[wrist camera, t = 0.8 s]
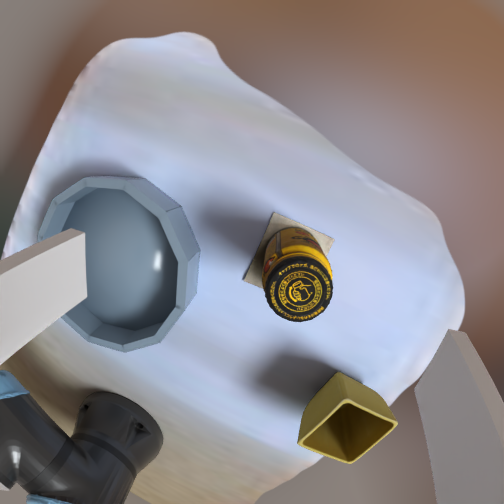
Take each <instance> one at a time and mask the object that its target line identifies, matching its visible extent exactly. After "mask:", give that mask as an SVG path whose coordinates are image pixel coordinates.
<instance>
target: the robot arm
mask: <svg viewBox="0 0 504 504" xmlns="http://www.w3.org/2000/svg"><path fill="white" fill-rule="evenodd" d="M85 298H87V283H86V258H85V232H82V231H79V230H75V229H72V228H70V229H68V230H65V231H63V232H61V233H59V234H56V235H54V236H52V237H50V238H47V239H45V240H43V241H41V242H38V243H36V244H34V245H32V246H30V247H28V248H26V249H23V250H21V251H19V252H17V253H15V254H13V255H11V256H9V257H7V258H5V259H3V260H1V261H0V365H1V364H2V363H3V362H4V361H6V360H7V359H8V358H9V357H10V356H12V355H13V354H14V353H15V352H17V351H18V350H19V349H20V348H22V347H23V346H24V345H25V344H27V343H28V342H29V341H30V340H32V339H33V338H34V337H35V336H37V335H38V334H39V333H40V332H42V331H43V330H44V329H46V328H47V327H48V326H49V325H51V324H52V323H53V322H55V321H56V320H57V319H59V318H60V317H61V316H63V315H64V314H65V313H66V312H68V311H69V310H70V309H72V308H73V307H74V306H76V305H77V304H78V303H80V302H81V301H82V300H84V299H85ZM414 391H415V394H416V398H417V402H418V406H419V410H420V414H421V419H422V423H423V427H424V432H425V436H426V441H427V446H428V451H429V457H430V462H431V467H432V473H433V479H434V485H435V492H436V499H437V504H504V403H503V401H502V399H501V397H500V395H499V393H498V391H497V389H496V387H495V385H494V383H493V381H492V379H491V377H490V376H489V373H488V372H487V370H486V368H485V366H484V364H483V362H482V361H481V359H480V357H479V356H478V354H477V352H476V350H475V348H474V347H473V345H472V343H471V342H470V340H469V338H468V336H467V335H466V333H464V332H459V331H455V330H451V329H448V331H447V333H446V335H445V337H444V339H443V341H442V342H441V344H440V346H439V348H438V350H437V352H436V353H435V355H434V357H433V359H432V361H431V362H430V364H429V366H428V367H427V369H426V371H425V372H424V374H423V376H422V377H421V379H420V381H419V383H418V384H417V386H416V387H415V389H414ZM162 444H163V435H162V432H161V429H160V427H159V426H158V424H157V423H156V421H155V420H154V419H153V418H152V417H151V416H150V415H149V414H148V413H147V412H146V411H145V410H144V409H142V408H141V407H140V406H138V405H137V404H135V403H134V402H132V401H130V400H128V399H126V398H124V397H122V396H119V395H116V394H112V393H107V392H97V393H93V394H91V395H89V396H88V397H87V398H86V399H85V401H84V402H83V403H82V405H81V406H80V408H79V411H78V415H77V419H76V423H75V428H74V432H73V435H72V436H71V437H69V436H68V435H67V434H66V433H65V432H64V431H63V430H62V429H61V428H60V427H59V426H58V425H57V424H56V423H55V422H54V421H53V420H52V419H51V418H50V417H49V416H48V415H47V414H46V412H45V411H44V410H43V409H42V408H41V407H40V406H39V405H38V403H37V402H36V401H35V400H34V399H33V398H32V396H31V395H30V392H29V391H28V390H26V389H25V388H24V387H23V386H22V385H21V383H20V382H19V381H18V380H17V379H16V378H15V377H14V375H13V374H12V373H10V372H8V371H6V370H0V490H10V489H11V488H12V487H13V485H14V484H15V483H18V484H19V485H20V486H21V487H22V488H23V489H25V490H26V491H27V492H28V493H29V495H27V500H26V502H27V504H124V502H125V500H126V498H127V496H128V493H129V491H130V489H131V487H132V484H133V482H134V480H135V478H136V476H137V474H138V473H139V472H140V471H141V470H142V469H144V468H145V467H146V466H147V465H148V464H149V463H150V462H151V461H152V460H153V459H154V458H156V456H157V455H158V453H159V451H160V449H161V447H162Z"/></svg>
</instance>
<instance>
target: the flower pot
mask: <svg viewBox="0 0 504 504" xmlns="http://www.w3.org/2000/svg"><path fill="white" fill-rule="evenodd" d="M397 424H398V422H397V420H396V419H395V417H394V415H393V414H392V412H391V410H390V408H389V407H388V405H387V404H386V402H385V401H384V399H383V398H382V397H381V396H380V395H379V394H378V393H377V392H375V391H374V390H372V389H371V388H369V387H367V386H365V385H363V384H361V383H359V382H357V381H355V380H354V379H352V378H350V377H348V376H346V375H344V374H343V373H340V372H337V373H335V374H334V375H333V377H332V378H331V379H330V380H329V381H328V382H327V383H326V384H325V385H324V386H323V387H322V388H321V389H320V390H319V391H318V392H317V393H316V395H315V396H314V397H313V398H312V399H311V401H310V402H309V403H308V405H307V407H306V408H305V410H304V412H303V415H302V419H301V424H300V430H299V436H298V442H297V444H298V445H300V446H301V447H304V448H306V449H308V450H311V451H313V452H316V453H319V454H321V455H324V456H327V457H330V458H332V459H336V460H338V461H341V462H344V463H348V464H352V463H353V462H355V461H356V460H358V459H359V458H360V457H361V456H362V455H364V454H365V453H366V452H367V451H369V450H370V449H371V448H372V447H373V446H374V445H376V444H377V443H378V442H379V441H380V440H382V439H383V438H384V437H385V436H386V435H387V434H389V433H390V432H391V431H392V430H393V429H394V428H395V427H396V426H397Z"/></svg>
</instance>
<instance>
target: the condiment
mask: <svg viewBox="0 0 504 504" xmlns="http://www.w3.org/2000/svg"><path fill="white" fill-rule="evenodd" d="M334 240H335V239H333V238H331V237H328V236H326V235H324V234H322V233H320V232H318V231H315V230H313V229H311V228H309V227H307V226H304V225H302V224H300V223H298V222H295V221H293V220H291V219H289V218H286V217H284V216H282V215H279V214H277V213H275V212H274V213H273V216H272V218H271V220H270V223H269V225H268V227H267V229H266V232H265V234H264V236H263V238H262V241H261V243H260V245H259V248H258V250H257V252H256V254H255V257H254V259H253V261H252V263H251V265H250V268H249V270H248V273H247V275H246V277H245V279H244V281H245V282H248V283H250V284H253V285H255V286H258V287H260V288H263V289H264V292H265V297H266V298H267V302H268V304H269V306H270V307H271V309H273V311H274V312H275V313H276V314H277V315H279V316H280V317H282V318H284V319H287V320H289V321H293V322H303V321H308V320H312V319H313V318H315V317H316V316H318V315H319V314H321V313H322V312H324V310H325V309H326V308H327V306H328V304H329V303H330V300H331V298H332V293H333V292H332V290H333V284H332V270H331V266H330V263H329V261H328V259H327V258H326V256H327V254H328V252H329V250H330V248H331V246H332V244H333V242H334Z"/></svg>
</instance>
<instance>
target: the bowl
mask: <svg viewBox="0 0 504 504" xmlns="http://www.w3.org/2000/svg"><path fill="white" fill-rule="evenodd" d="M70 228H72V229H75V230H79V231H82V232H85V258H86V283H87V298H85V299H84V300H82V301H81V302H80V303H78V304H77V305H76V306H74V307H73V308H72V309H70V310H69V311H68V312H66V313H65V314H64V315H63V316H61V318H62V319H63V320H64V321H65V322H66V323H68V324H69V325H70V326H71V327H72V328H73V329H74V330H75V331H76V332H78V333H79V334H80V335H81V336H82V337H83V338H84V339H86V340H87V341H88V342H91V343H94V344H97V345H100V346H104V347H107V348H110V349H114V350H117V351H121V352H129V351H133V350H136V349H140V348H143V347H147V346H150V345H154V344H157V343H160V342H161V341H162V340H163V339H164V337H165V336H166V335H167V333H168V332H169V331H170V329H171V328H172V327H173V325H174V324H175V323H176V321H177V320H178V319H179V317H180V316H181V315H182V313H183V312H184V311H185V309H186V308H187V306H188V305H189V304H190V302H191V301H192V299H193V298H194V296H195V295H196V293H197V281H198V269H199V257H200V248H199V246H198V243H197V241H196V239H195V237H194V234H193V232H192V230H191V227H190V225H189V223H188V221H187V218H186V216H185V214H184V211H183V209H182V207H181V205H179V204H178V203H177V202H175V201H174V200H173V199H171V198H170V197H169V196H168V195H166V194H165V193H164V192H162V191H161V190H160V189H159V188H157V187H156V186H155V185H153V184H152V183H151V182H150V181H148V180H147V179H144V178H132V177H119V176H94V177H84V178H83V179H81V180H79V181H78V182H76V183H75V184H73V185H72V186H70V187H69V188H67V189H66V190H65V191H63V192H62V193H60V194H59V195H57V196H56V197H55V198H53V199H52V202H51V204H50V206H49V208H48V211H47V213H46V215H45V218H44V220H43V222H42V225H41V227H40V230H39V232H38V235H37V240H38V242H41V241H43V240H45V239H47V238H50V237H52V236H54V235H56V234H59V233H61V232H63V231H65V230H68V229H70Z"/></svg>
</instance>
